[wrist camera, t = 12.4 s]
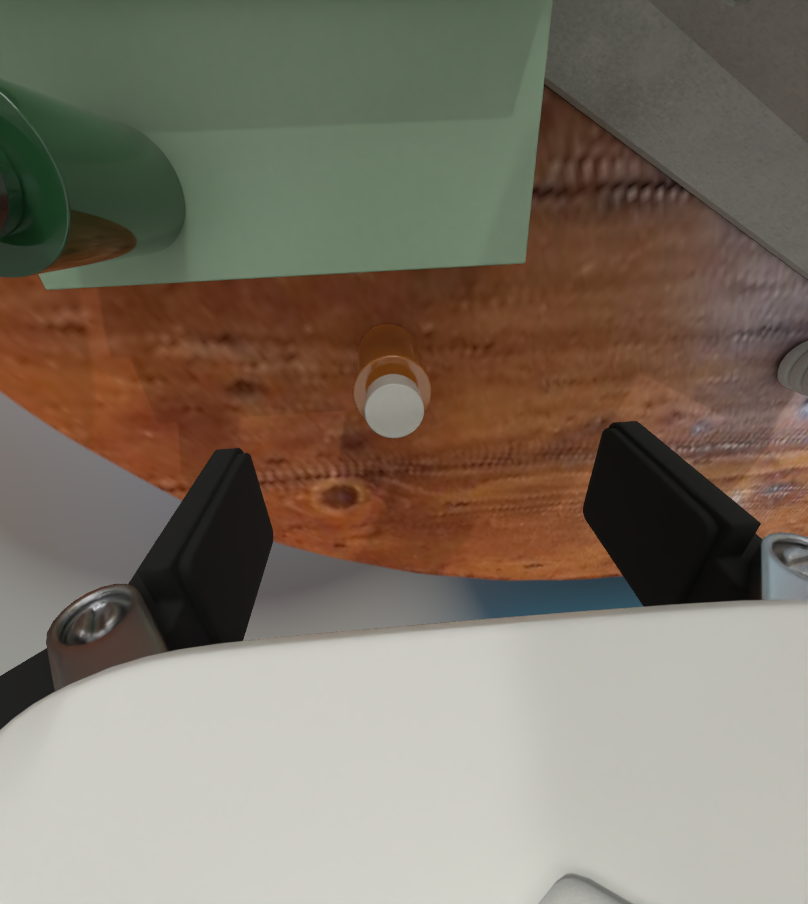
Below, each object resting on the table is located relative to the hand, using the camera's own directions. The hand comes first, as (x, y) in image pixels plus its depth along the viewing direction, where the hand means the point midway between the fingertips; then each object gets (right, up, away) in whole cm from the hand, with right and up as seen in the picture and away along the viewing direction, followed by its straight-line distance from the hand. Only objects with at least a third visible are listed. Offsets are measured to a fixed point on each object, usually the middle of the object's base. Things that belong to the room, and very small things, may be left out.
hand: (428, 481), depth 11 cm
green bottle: (-11, +10, +4) cm, 16 cm away
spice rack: (-6, +16, +10) cm, 20 cm away
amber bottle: (-2, +7, +16) cm, 18 cm away
